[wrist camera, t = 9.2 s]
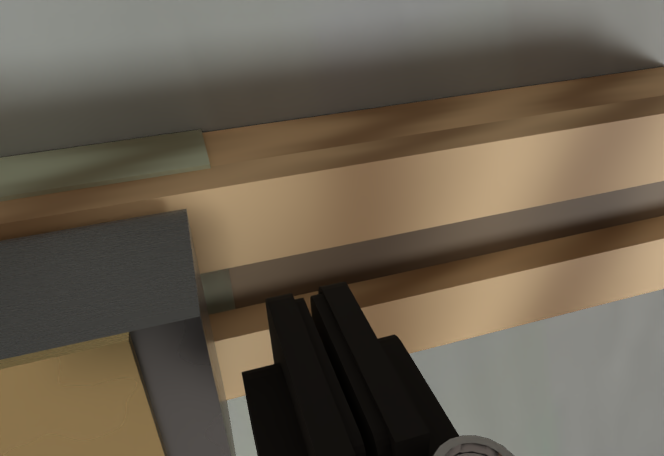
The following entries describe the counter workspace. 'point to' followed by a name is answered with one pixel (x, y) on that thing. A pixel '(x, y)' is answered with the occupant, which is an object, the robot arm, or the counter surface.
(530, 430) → the counter surface
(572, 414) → the counter surface
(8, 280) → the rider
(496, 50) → the counter surface
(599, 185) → the rail
